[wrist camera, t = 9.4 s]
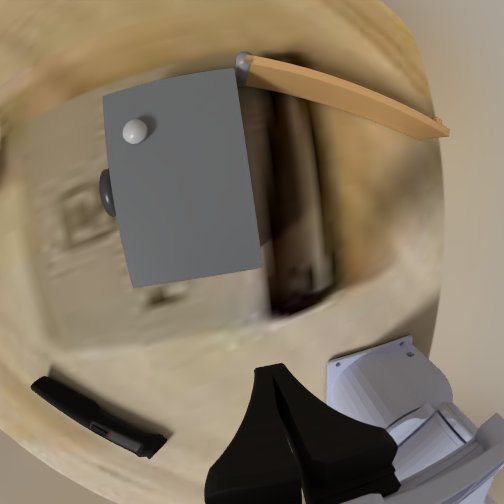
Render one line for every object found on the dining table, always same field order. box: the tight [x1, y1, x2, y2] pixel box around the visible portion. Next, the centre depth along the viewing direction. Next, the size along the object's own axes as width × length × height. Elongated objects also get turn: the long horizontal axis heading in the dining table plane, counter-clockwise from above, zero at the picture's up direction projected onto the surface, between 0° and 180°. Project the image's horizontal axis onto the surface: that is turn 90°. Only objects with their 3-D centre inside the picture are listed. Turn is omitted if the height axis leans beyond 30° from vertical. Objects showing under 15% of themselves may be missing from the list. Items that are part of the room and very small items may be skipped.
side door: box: [235, 52, 449, 140], centre depth 16 cm, size 1×16×4 cm, turn 80°
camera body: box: [99, 68, 263, 288], centre depth 16 cm, size 9×12×4 cm
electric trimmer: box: [31, 376, 167, 459], centre depth 22 cm, size 4×16×3 cm, turn 54°
